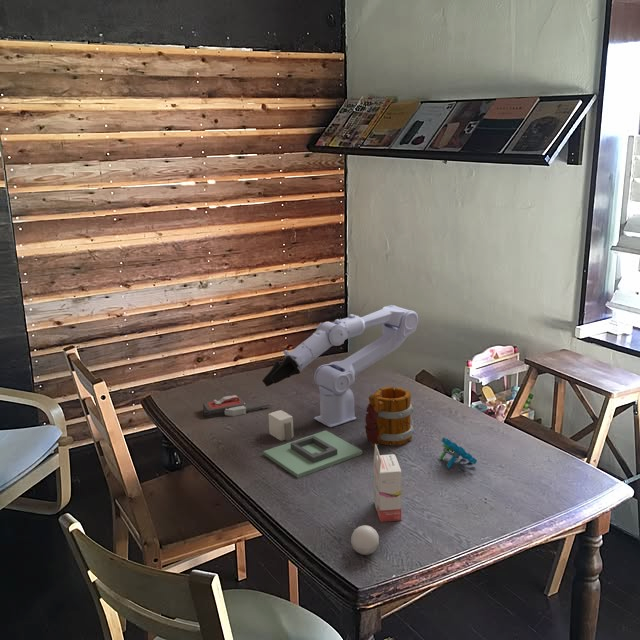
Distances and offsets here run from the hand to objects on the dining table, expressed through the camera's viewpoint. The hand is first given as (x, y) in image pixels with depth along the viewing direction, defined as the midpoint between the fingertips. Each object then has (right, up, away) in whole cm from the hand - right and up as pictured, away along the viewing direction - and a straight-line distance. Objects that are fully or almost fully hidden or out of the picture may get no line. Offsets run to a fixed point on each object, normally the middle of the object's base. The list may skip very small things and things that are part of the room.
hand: (268, 382), depth 191 cm
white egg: (+23, -30, -46) cm, 59 cm away
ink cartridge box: (+29, -26, -32) cm, 50 cm away
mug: (+32, -16, +2) cm, 35 cm away
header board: (+12, -18, -5) cm, 22 cm away
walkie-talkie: (-12, -11, +26) cm, 30 cm away
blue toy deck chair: (+48, -20, -12) cm, 53 cm away
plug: (+3, -15, +7) cm, 17 cm away
